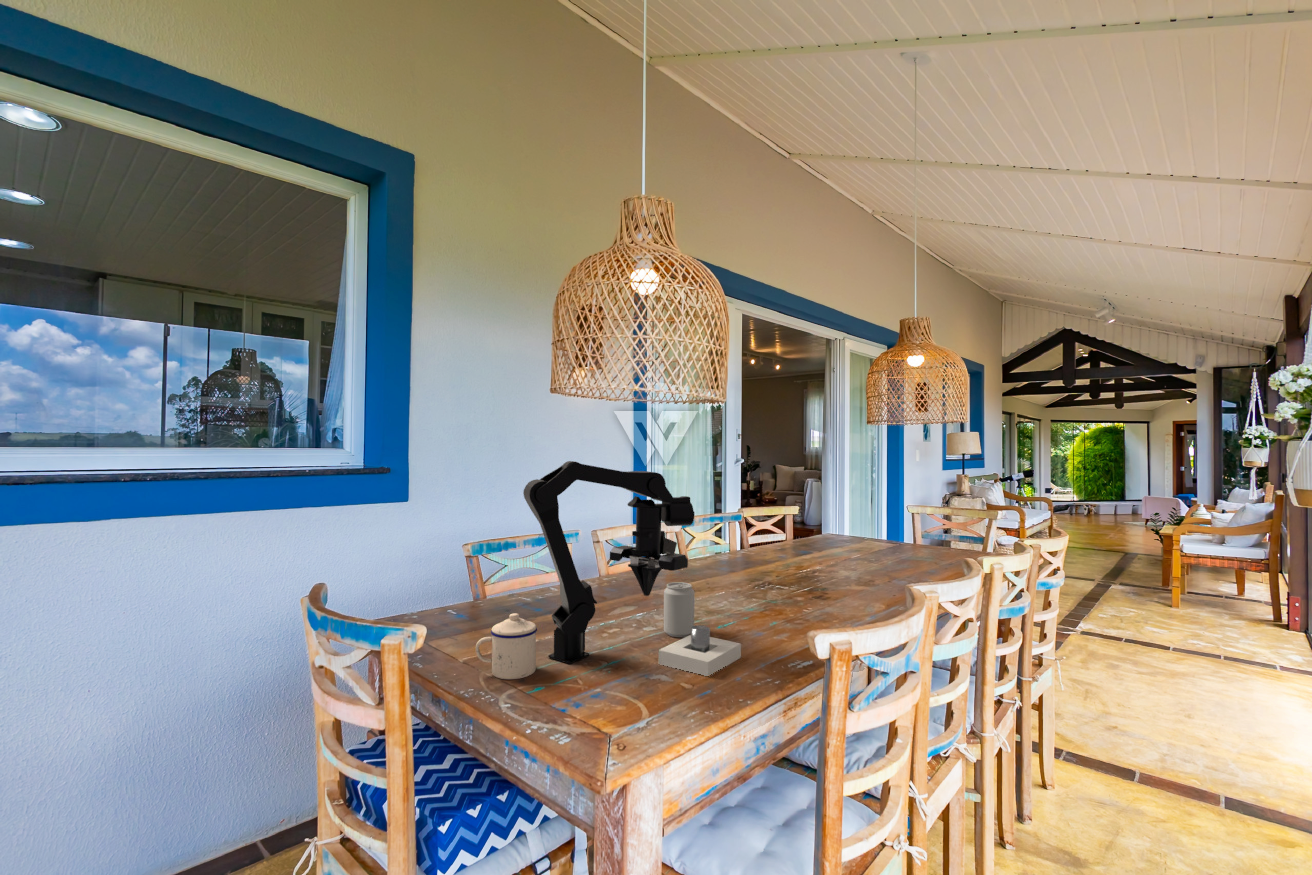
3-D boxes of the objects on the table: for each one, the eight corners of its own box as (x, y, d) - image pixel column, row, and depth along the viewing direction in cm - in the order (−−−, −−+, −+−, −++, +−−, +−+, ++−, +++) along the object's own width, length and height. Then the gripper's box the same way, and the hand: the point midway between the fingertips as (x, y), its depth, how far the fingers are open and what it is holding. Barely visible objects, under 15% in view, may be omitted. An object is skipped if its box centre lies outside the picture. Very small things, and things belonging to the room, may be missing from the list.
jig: (707, 677, 124) (708, 661, 124) (658, 664, 131) (658, 649, 131) (740, 657, 136) (740, 643, 136) (693, 646, 143) (693, 633, 143)
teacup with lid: (535, 662, 132) (536, 607, 132) (537, 678, 123) (538, 619, 123) (476, 666, 129) (477, 610, 129) (474, 683, 120) (474, 622, 120)
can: (658, 635, 151) (658, 585, 151) (671, 627, 157) (672, 579, 157) (686, 640, 147) (686, 589, 147) (699, 631, 154) (699, 582, 154)
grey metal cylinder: (703, 665, 131) (703, 632, 131) (687, 661, 133) (687, 628, 133) (713, 660, 134) (713, 627, 134) (697, 656, 136) (697, 624, 136)
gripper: (702, 527, 143) (700, 596, 143) (639, 520, 154) (637, 583, 154) (673, 532, 134) (671, 605, 134) (609, 523, 146) (607, 591, 146)
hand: (646, 595), depth 142 cm, fingers closed
